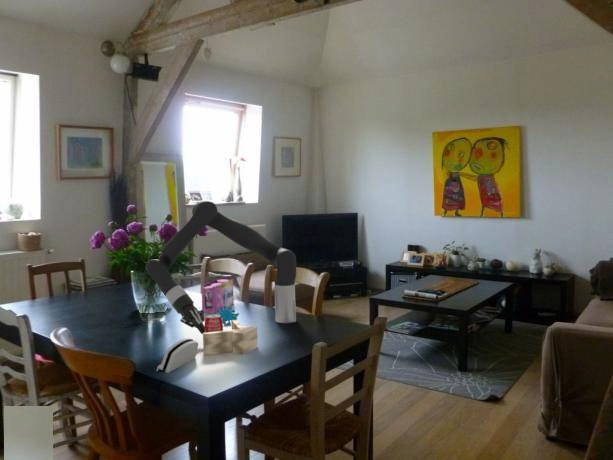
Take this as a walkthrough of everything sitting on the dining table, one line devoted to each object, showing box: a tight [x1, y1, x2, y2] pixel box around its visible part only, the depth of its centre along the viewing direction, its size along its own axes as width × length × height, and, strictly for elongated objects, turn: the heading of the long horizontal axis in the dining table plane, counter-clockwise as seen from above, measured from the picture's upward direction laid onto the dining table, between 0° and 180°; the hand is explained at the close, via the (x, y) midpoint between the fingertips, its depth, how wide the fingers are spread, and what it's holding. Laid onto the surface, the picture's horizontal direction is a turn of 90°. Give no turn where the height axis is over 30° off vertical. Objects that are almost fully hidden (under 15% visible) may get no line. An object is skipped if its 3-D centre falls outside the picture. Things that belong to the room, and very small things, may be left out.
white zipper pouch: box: [156, 337, 199, 374], centre depth 190 cm, size 17×5×10 cm, turn 158°
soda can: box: [204, 313, 224, 333], centre depth 211 cm, size 7×7×12 cm
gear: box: [216, 305, 240, 326], centre depth 247 cm, size 11×6×10 cm
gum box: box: [201, 277, 235, 314], centre depth 275 cm, size 24×8×14 cm, turn 165°
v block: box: [202, 319, 259, 356], centre depth 208 cm, size 15×23×8 cm, turn 156°
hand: (205, 332), depth 213 cm, fingers closed
